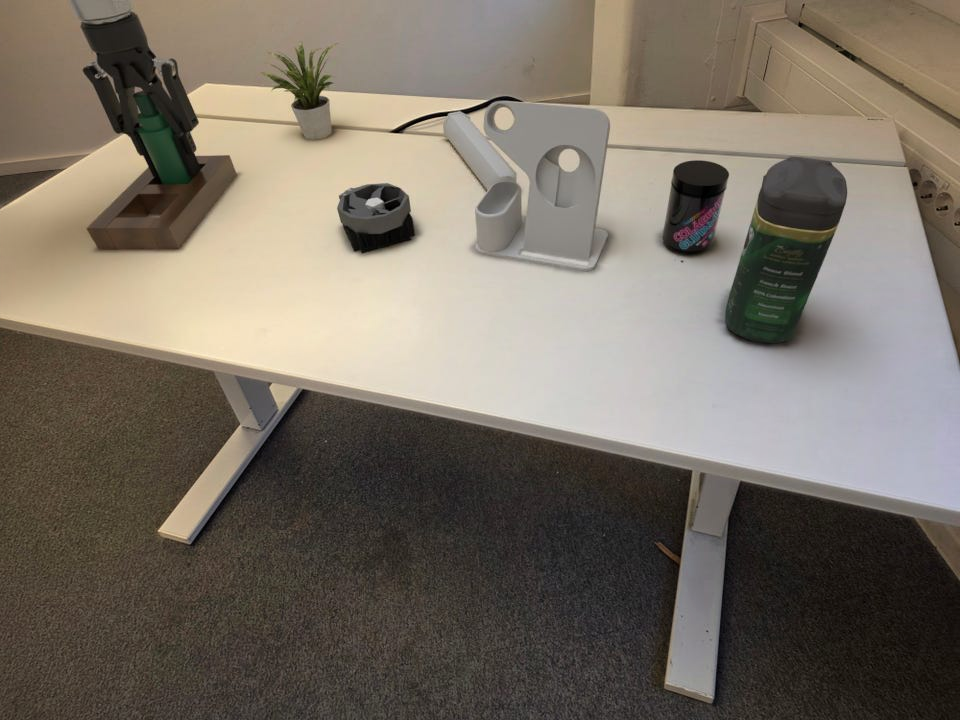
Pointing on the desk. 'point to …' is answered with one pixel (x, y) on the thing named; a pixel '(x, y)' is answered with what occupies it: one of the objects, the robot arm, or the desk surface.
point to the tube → (477, 150)
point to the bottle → (160, 142)
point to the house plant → (307, 94)
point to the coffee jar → (785, 248)
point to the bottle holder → (162, 208)
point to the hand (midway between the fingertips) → (177, 172)
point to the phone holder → (546, 186)
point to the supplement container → (694, 206)
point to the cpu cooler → (375, 216)
